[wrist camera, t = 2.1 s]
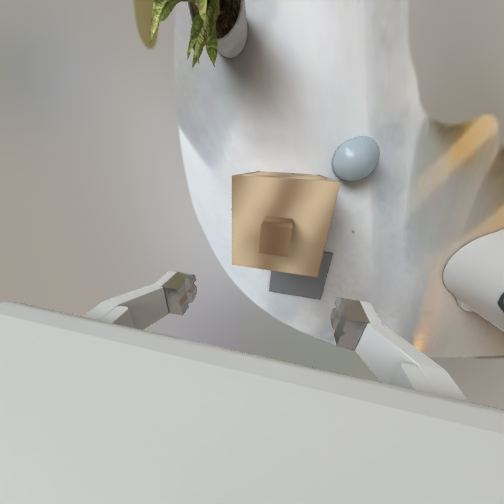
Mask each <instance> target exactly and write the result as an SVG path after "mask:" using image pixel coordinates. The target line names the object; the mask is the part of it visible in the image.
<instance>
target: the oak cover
mask: <svg viewBox="0 0 504 504" xmlns="http://www.w3.org/2000/svg"><path fill="white" fill-rule="evenodd" d="M339 187H340V182H337V181H335V180H332V179H329V178H327V177H324V176H321V175H312V174H295V173H278V172H261V171H257V172H251V173H245V174H239V175H233V176H232V265H238V266H245V267H252V268H259V269H265V270H272V271H279V272H286V273H292V274H299V275H306V276H313V277H317V276H318V272H319V268H320V264H321V260H322V256H323V252H324V248H325V244H326V240H327V236H328V231H329V227H330V223H331V219H332V215H333V211H334V207H335V203H336V199H337V195H338V191H339Z"/></svg>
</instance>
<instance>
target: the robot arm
mask: <svg viewBox="0 0 504 504" xmlns="http://www.w3.org/2000/svg"><path fill="white" fill-rule="evenodd" d="M195 281H196V278H195V275H193V274H188V273H182V272H177V271H169V272H168V273H166V274H165V275H164V276H163V277H162V278H161V279H159V280H158V281H157V282H156V283H155V284H153V285H149V286H146V287H143V288H140V289H138V290H135V291H132V292H129V293H126V294H123V295H120V296H117V297H114V298H112V299H109V300H106V301H103V302H102V303H100V304H99V305H98V306H96V307H95V308H93V309H92V310H91V311H89V312H88V313H87V314H85V315H84V316H77V315H73V314H68V313H63V312H59V311H55V310H50V309H46V308H41V307H36V306H32V305H28V304H24V303H19V302H2V303H0V504H504V410H503V409H498V408H494V407H489V406H485V405H480V404H476V403H471V402H469V401H468V400H467V399H466V397H465V396H464V394H463V393H462V392H461V391H460V389H459V388H458V386H457V385H456V384H455V383H454V381H453V380H452V378H451V377H450V376H449V374H448V373H447V372H446V371H445V370H444V369H443V368H442V367H440V366H439V365H438V364H436V363H435V362H434V361H432V360H431V359H430V358H428V357H427V356H426V355H424V354H423V353H422V352H420V351H419V350H418V349H416V348H415V347H414V346H412V345H411V344H410V343H408V342H407V341H406V340H404V339H403V338H402V337H400V336H399V335H398V334H396V333H395V332H394V331H392V330H391V329H390V328H388V327H387V326H383V324H382V322H381V321H380V319H379V317H378V315H377V314H376V312H375V310H374V308H373V307H372V305H371V303H370V302H368V301H361V300H351V299H345V298H338V297H337V299H336V301H335V306H336V308H334V309H333V310H332V314H331V324H332V328H333V329H334V330H335V333H334V337H335V341H336V345H337V346H339V347H344V348H348V349H353V350H355V352H356V353H357V354H358V355H359V356H360V357H361V359H362V360H363V361H364V362H365V364H366V365H367V366H368V367H369V368H370V370H371V371H372V372H373V373H374V375H375V376H376V377H377V378H378V379H379V381H380V382H376V381H372V380H367V379H362V378H358V377H354V376H349V375H345V374H340V373H335V372H331V371H326V370H322V369H317V368H313V367H308V366H303V365H299V364H295V363H290V362H285V361H281V360H276V359H272V358H268V357H263V356H258V355H254V354H250V353H245V352H241V351H236V350H232V349H227V348H222V347H218V346H213V345H209V344H204V343H199V342H195V341H190V340H186V339H181V338H177V337H172V336H168V335H163V334H159V333H154V332H150V331H145V330H143V329H145V328H146V327H148V326H150V325H151V324H153V323H155V322H156V321H158V320H159V319H161V318H163V317H164V316H166V315H168V314H169V313H172V314H178V315H183V314H184V313H185V311H186V310H187V309H188V307H189V306H188V304H189V303H191V302H193V300H194V299H195V297H196V294H197V287H196V285H195V284H194V282H195ZM443 281H444V284H445V286H446V288H447V289H448V290H449V291H450V292H451V293H452V294H453V295H454V296H455V297H456V299H457V303H458V306H459V307H460V308H462V309H463V310H465V311H468V312H476V313H477V314H479V315H480V316H482V317H483V318H485V319H486V320H488V321H489V322H490V323H492V324H493V325H495V326H496V327H498V328H499V329H501V330H502V331H504V229H503V230H500V231H497V232H494V233H491V234H488V235H485V236H482V237H480V238H478V239H476V240H474V241H472V242H470V243H468V244H467V245H465V246H464V247H462V248H461V249H460V250H459V251H457V252H456V253H455V254H454V255H453V256H452V258H451V259H450V260H449V261H448V263H447V265H446V267H445V269H444V273H443Z"/></svg>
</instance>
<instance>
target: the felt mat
mask: <svg viewBox="0 0 504 504" xmlns="http://www.w3.org/2000/svg"><path fill="white" fill-rule="evenodd" d="M332 255H333V253H329V252H323V256H322V260H321V264H320V268H319V272H318V276H317V277H313V276H306V275H299V274H292V273H286V272H279V271H272V270H271V279H270V288H269V291H272V292H278V293H284V294H290V295H296V296H302V297H307V298H313V299H319V300H320V299H321V295H322V291H323V288H324V284H325V280H326V277H327V273H328V270H329V266H330V262H331V259H332Z"/></svg>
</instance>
